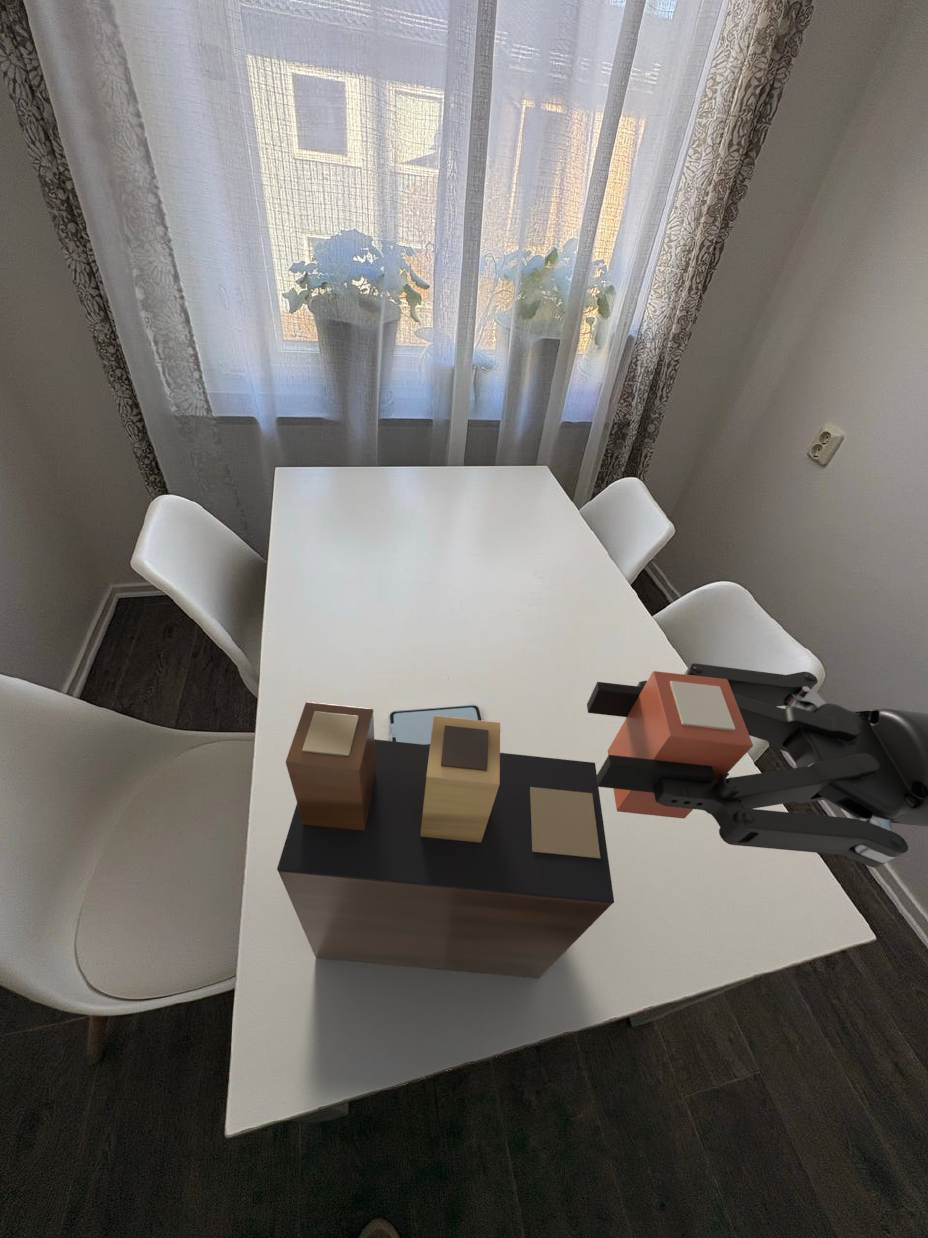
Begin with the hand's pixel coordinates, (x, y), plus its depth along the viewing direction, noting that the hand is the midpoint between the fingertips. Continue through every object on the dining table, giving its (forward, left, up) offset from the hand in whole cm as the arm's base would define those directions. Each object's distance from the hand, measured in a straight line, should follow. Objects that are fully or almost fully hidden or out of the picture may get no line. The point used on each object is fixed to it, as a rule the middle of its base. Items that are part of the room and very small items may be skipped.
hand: (598, 732), depth 34 cm
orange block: (0, -5, -6) cm, 8 cm away
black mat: (0, +9, -14) cm, 16 cm away
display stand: (0, +9, -42) cm, 43 cm away
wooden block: (0, +18, -14) cm, 23 cm away
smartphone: (+26, +11, -42) cm, 50 cm away
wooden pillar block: (0, +9, -14) cm, 16 cm away
